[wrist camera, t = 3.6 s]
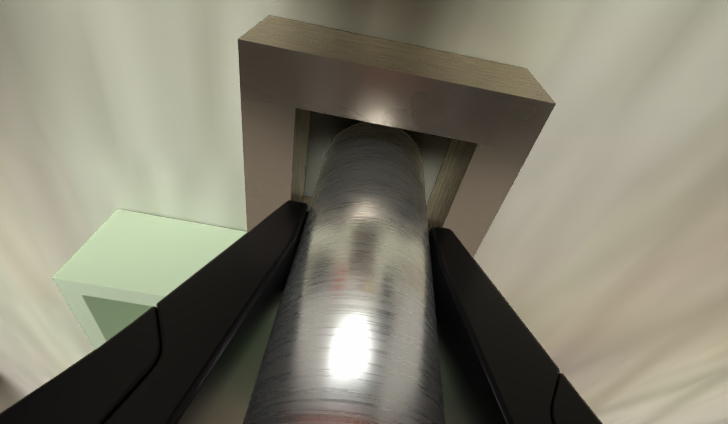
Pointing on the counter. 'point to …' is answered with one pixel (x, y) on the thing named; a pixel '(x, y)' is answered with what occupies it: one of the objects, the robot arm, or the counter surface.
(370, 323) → the pin
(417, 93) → the pin socket
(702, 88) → the counter surface
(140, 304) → the tray
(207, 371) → the robot arm
